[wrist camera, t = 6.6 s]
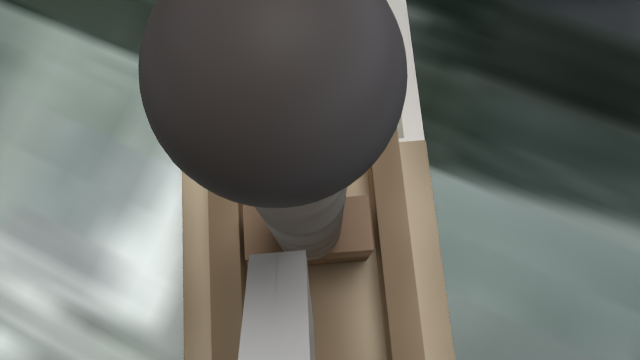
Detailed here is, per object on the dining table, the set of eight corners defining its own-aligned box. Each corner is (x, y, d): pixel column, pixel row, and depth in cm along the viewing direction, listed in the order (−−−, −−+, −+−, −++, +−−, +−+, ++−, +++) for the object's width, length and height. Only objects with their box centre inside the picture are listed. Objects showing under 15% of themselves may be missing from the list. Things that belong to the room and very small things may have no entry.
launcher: (403, 179, 31) (434, 124, 22) (430, 401, 28) (478, 439, 19) (214, 194, 31) (169, 144, 22) (220, 418, 28) (170, 464, 19)
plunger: (360, 196, 23) (452, -151, 6) (368, 279, 22) (504, 149, 5) (254, 204, 23) (50, -120, 6) (258, 288, 22) (31, 185, 5)
